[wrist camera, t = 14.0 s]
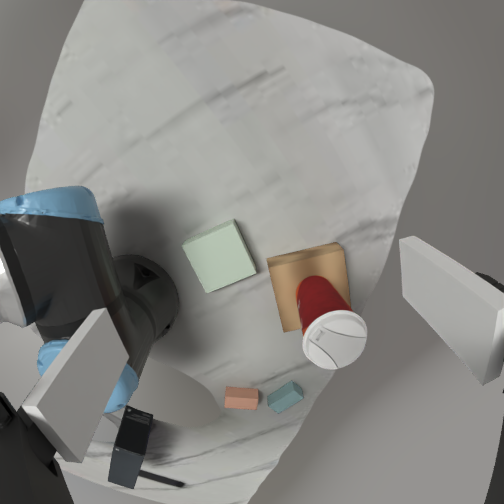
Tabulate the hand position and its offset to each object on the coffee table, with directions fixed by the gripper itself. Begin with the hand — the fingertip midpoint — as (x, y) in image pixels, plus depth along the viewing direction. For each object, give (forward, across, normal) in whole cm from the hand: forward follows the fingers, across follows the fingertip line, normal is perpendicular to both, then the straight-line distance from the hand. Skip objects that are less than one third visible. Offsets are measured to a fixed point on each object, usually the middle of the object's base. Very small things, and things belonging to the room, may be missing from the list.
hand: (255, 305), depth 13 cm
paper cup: (+31, +6, -16) cm, 35 cm away
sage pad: (+35, -6, -8) cm, 36 cm away
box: (+35, -37, -44) cm, 67 cm away
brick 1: (+35, -10, -36) cm, 51 cm away
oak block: (+35, +6, -16) cm, 39 cm away
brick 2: (+35, -2, -38) cm, 52 cm away
